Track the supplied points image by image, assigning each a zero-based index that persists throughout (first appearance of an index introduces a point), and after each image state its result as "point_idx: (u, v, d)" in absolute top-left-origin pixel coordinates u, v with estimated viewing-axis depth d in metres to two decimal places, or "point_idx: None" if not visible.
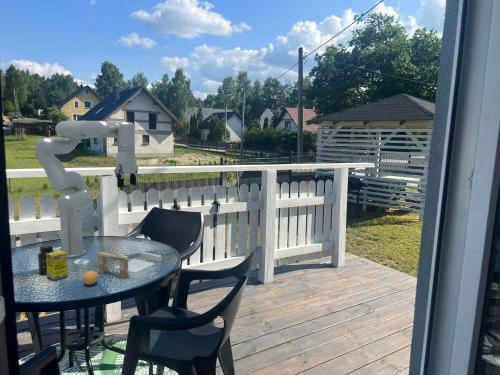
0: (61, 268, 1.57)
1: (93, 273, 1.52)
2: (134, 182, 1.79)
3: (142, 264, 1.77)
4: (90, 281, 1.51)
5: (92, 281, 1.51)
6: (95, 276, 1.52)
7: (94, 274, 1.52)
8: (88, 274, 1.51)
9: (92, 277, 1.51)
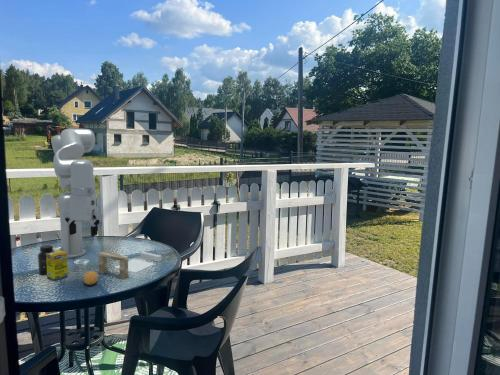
0: (61, 268, 1.57)
1: (93, 273, 1.52)
2: None
3: (142, 264, 1.77)
4: (90, 281, 1.51)
5: (92, 281, 1.51)
6: (95, 276, 1.52)
7: (94, 274, 1.52)
8: (88, 274, 1.51)
9: (92, 277, 1.51)
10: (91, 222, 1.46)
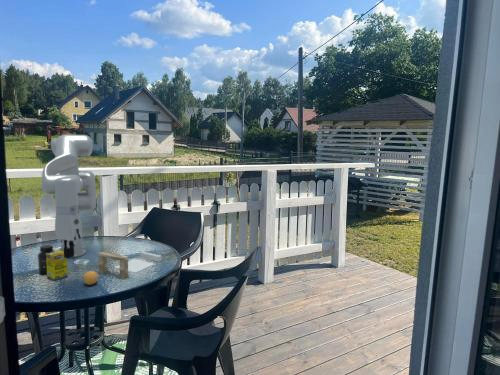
0: (61, 268, 1.57)
1: (93, 273, 1.52)
2: None
3: (142, 264, 1.77)
4: (90, 281, 1.51)
5: (92, 281, 1.51)
6: (95, 276, 1.52)
7: (94, 274, 1.52)
8: (88, 274, 1.51)
9: (92, 277, 1.51)
10: (68, 243, 1.40)
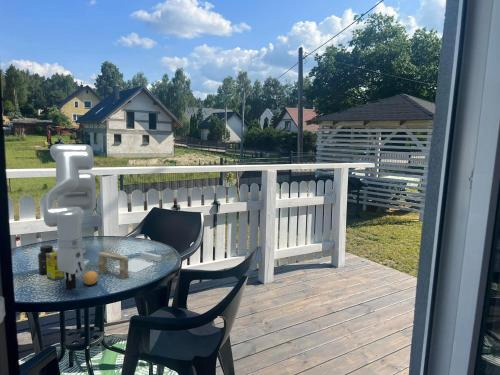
0: None
1: (93, 273, 1.52)
2: None
3: (142, 264, 1.77)
4: (90, 281, 1.51)
5: (92, 281, 1.51)
6: (95, 276, 1.52)
7: (94, 274, 1.52)
8: (88, 274, 1.51)
9: (92, 277, 1.51)
10: (69, 276, 1.42)
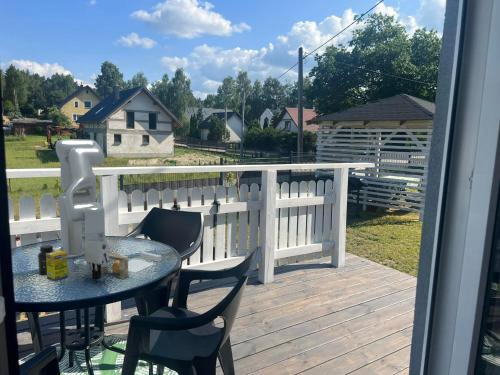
0: (61, 268, 1.57)
1: (118, 267, 1.63)
2: None
3: (142, 264, 1.77)
4: None
5: None
6: None
7: (119, 267, 1.64)
8: (116, 271, 1.64)
9: None
10: (96, 266, 1.53)
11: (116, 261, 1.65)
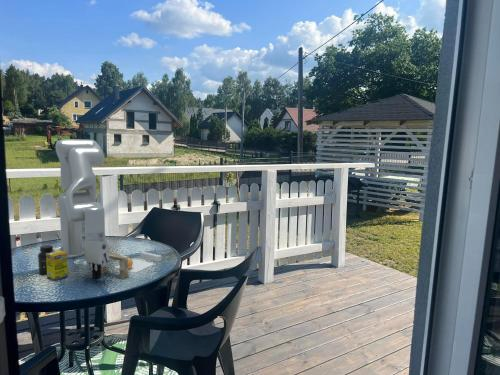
0: (61, 268, 1.57)
1: (131, 259, 1.70)
2: None
3: (142, 264, 1.77)
4: None
5: (128, 266, 1.68)
6: (132, 263, 1.70)
7: (131, 261, 1.70)
8: None
9: (130, 262, 1.69)
10: (96, 266, 1.53)
11: None
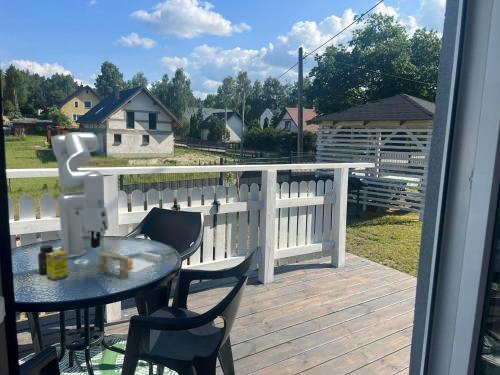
0: (61, 268, 1.57)
1: (131, 259, 1.70)
2: None
3: (142, 264, 1.77)
4: None
5: (128, 266, 1.68)
6: (132, 263, 1.70)
7: (131, 261, 1.70)
8: None
9: (130, 262, 1.69)
10: (95, 234, 1.52)
11: None
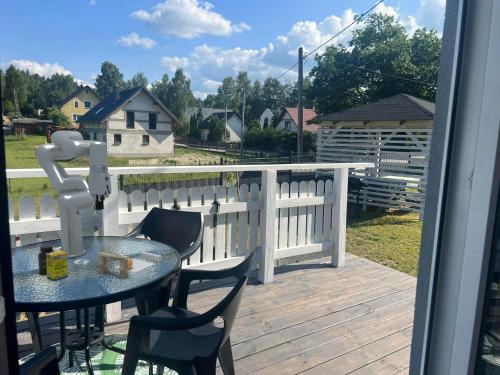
0: (61, 268, 1.57)
1: (131, 259, 1.70)
2: None
3: (142, 264, 1.77)
4: None
5: (128, 266, 1.68)
6: (132, 263, 1.70)
7: (131, 261, 1.70)
8: None
9: (130, 262, 1.69)
10: (99, 197, 1.67)
11: None
